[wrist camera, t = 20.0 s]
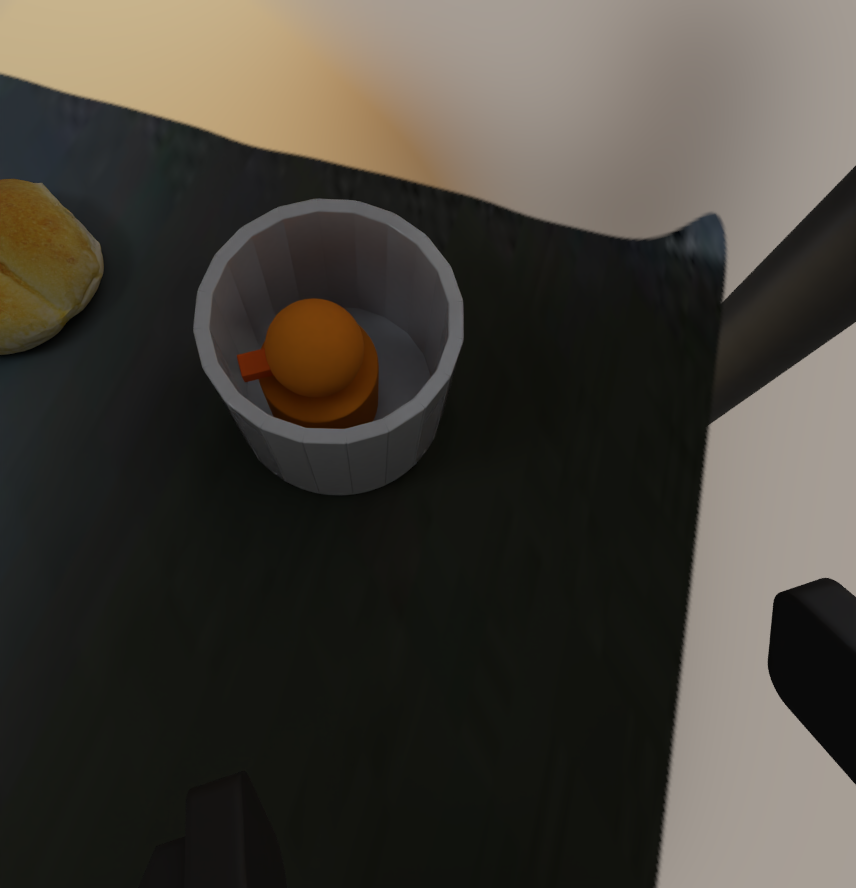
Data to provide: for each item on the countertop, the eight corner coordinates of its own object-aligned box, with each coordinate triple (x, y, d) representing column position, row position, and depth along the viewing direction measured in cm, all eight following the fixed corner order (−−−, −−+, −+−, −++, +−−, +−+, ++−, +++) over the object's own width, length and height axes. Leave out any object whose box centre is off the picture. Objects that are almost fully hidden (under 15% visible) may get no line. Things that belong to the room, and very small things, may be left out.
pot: (409, 281, 39) (418, 174, 30) (469, 462, 37) (499, 401, 28) (215, 329, 38) (168, 231, 29) (265, 521, 35) (229, 476, 26)
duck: (362, 339, 37) (358, 253, 29) (391, 435, 36) (395, 372, 28) (249, 367, 37) (215, 286, 29) (275, 466, 35) (246, 410, 27)
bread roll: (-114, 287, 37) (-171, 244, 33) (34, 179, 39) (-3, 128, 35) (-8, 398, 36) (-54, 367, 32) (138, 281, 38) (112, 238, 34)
